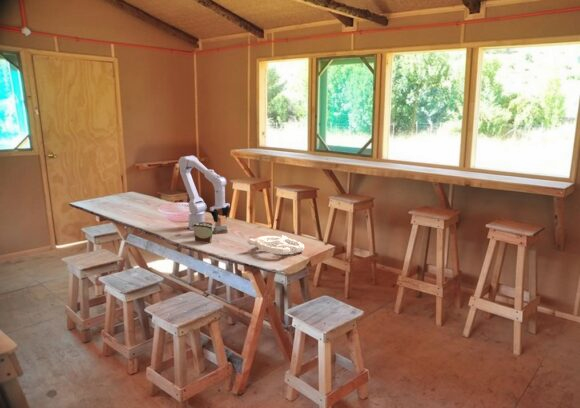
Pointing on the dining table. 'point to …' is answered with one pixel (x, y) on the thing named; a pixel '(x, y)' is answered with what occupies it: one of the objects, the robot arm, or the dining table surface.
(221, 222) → the peach foam cube
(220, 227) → the top slab
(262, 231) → the dining table surface
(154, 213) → the dining table surface
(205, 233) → the food container
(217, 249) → the dining table surface
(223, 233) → the bottom slab
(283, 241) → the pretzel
